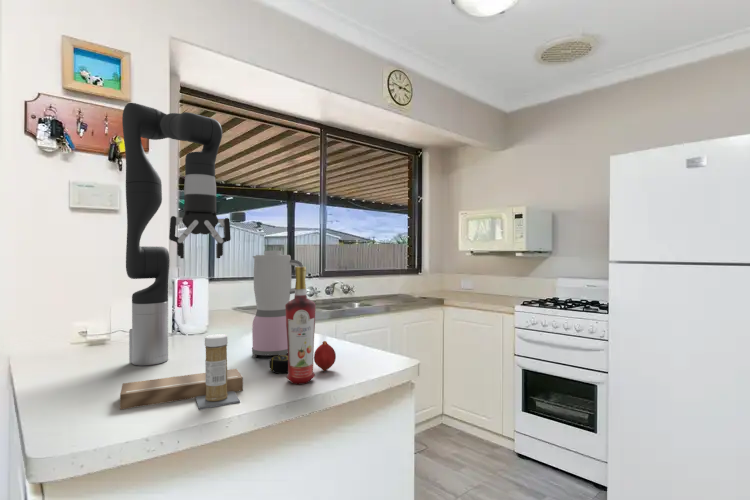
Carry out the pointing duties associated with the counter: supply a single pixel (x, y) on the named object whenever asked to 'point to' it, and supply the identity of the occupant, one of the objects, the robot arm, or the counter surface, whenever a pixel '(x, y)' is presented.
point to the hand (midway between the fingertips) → (200, 258)
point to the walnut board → (172, 389)
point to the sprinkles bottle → (216, 367)
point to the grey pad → (230, 399)
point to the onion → (324, 356)
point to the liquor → (300, 332)
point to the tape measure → (279, 364)
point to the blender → (271, 302)
